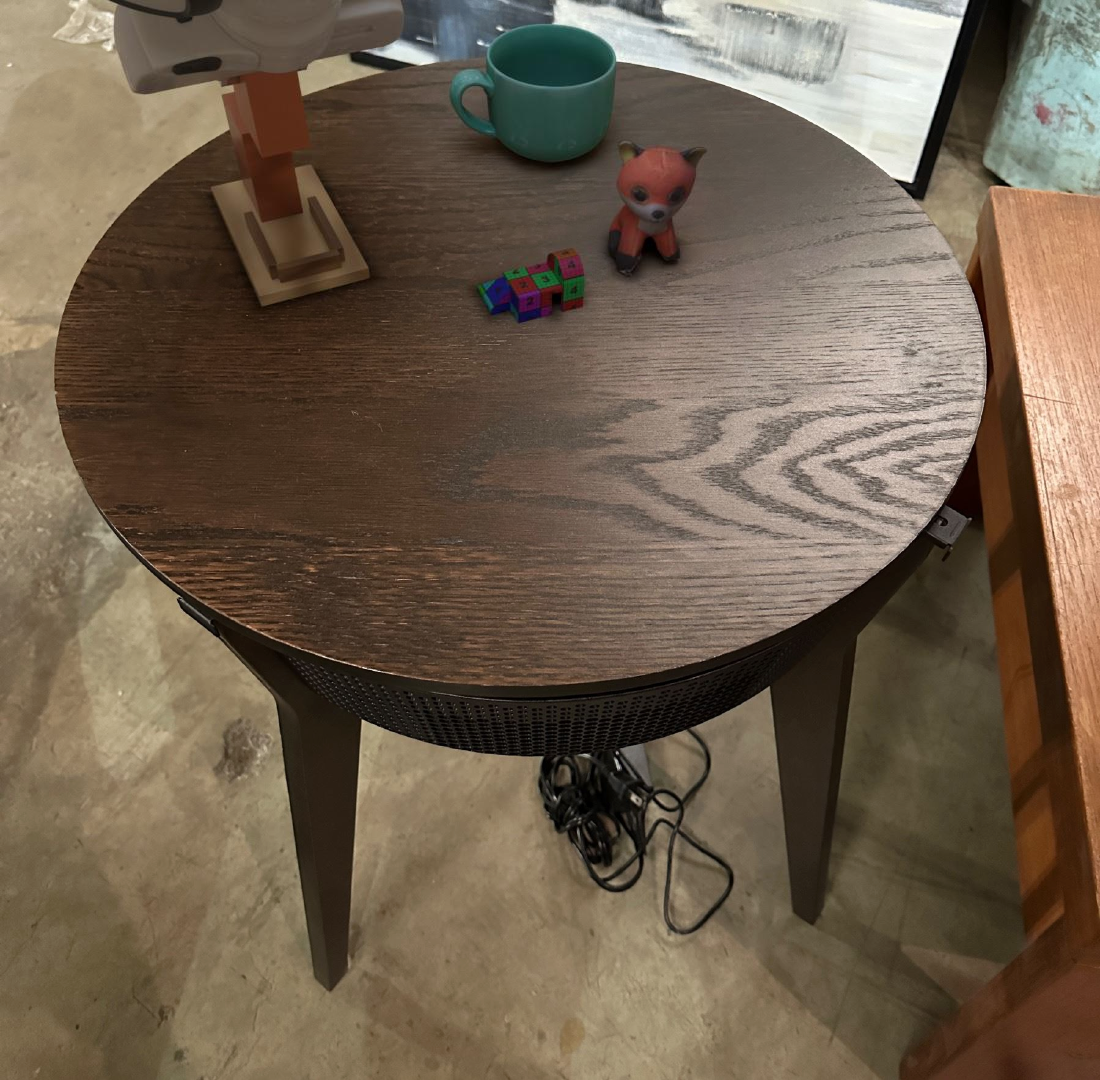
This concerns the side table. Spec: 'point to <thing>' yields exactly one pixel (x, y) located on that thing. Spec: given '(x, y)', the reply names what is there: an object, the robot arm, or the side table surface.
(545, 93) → the mug
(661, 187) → the stuffed fox
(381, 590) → the side table surface
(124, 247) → the side table surface
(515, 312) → the numbered block arch
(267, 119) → the back pad
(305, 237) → the pad base
